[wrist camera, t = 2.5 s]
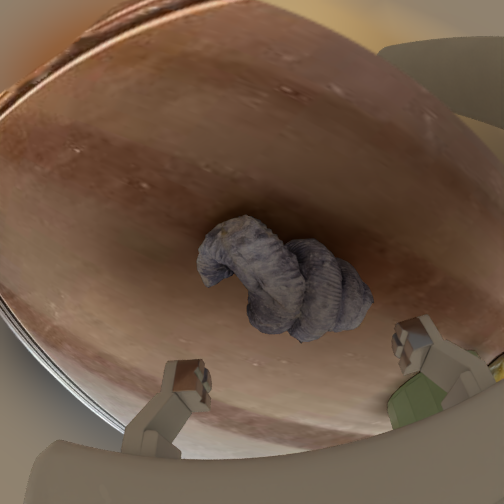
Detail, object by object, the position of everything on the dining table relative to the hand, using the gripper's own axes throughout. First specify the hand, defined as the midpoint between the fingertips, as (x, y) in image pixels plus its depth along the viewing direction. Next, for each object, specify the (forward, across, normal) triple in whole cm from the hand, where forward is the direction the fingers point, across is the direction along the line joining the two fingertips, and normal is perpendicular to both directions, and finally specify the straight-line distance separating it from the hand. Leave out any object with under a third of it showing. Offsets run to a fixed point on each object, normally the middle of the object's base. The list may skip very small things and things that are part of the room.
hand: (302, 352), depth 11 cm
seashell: (+6, 0, 0) cm, 7 cm away
